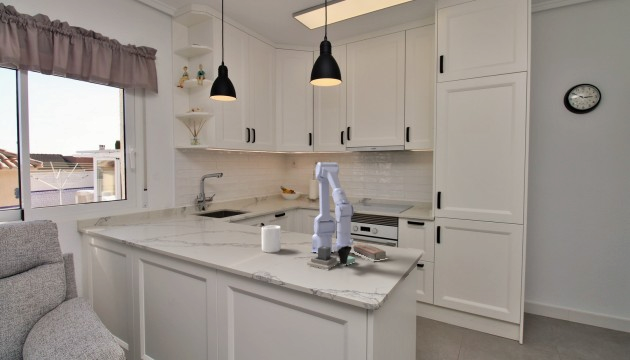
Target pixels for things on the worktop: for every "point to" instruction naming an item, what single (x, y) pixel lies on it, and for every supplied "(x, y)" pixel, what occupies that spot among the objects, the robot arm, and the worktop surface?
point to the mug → (271, 238)
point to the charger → (324, 253)
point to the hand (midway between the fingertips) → (343, 263)
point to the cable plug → (350, 260)
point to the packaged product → (370, 251)
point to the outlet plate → (323, 262)
